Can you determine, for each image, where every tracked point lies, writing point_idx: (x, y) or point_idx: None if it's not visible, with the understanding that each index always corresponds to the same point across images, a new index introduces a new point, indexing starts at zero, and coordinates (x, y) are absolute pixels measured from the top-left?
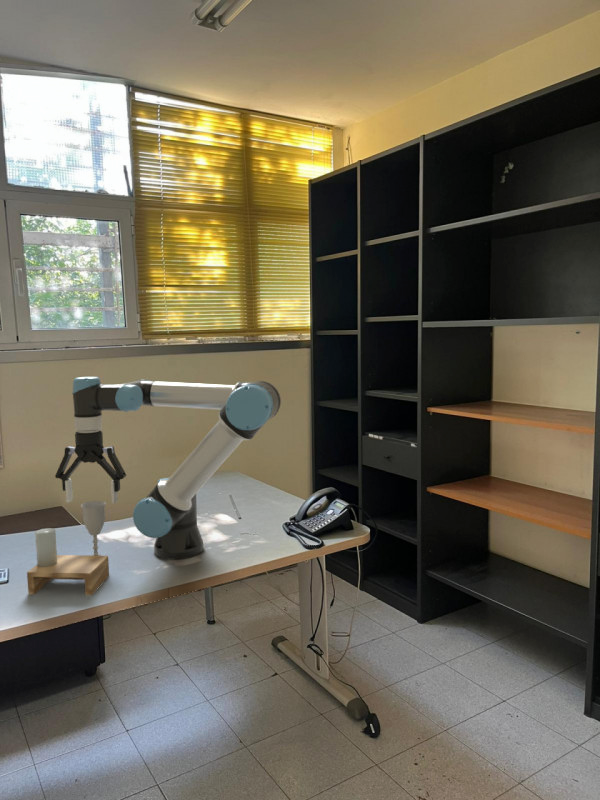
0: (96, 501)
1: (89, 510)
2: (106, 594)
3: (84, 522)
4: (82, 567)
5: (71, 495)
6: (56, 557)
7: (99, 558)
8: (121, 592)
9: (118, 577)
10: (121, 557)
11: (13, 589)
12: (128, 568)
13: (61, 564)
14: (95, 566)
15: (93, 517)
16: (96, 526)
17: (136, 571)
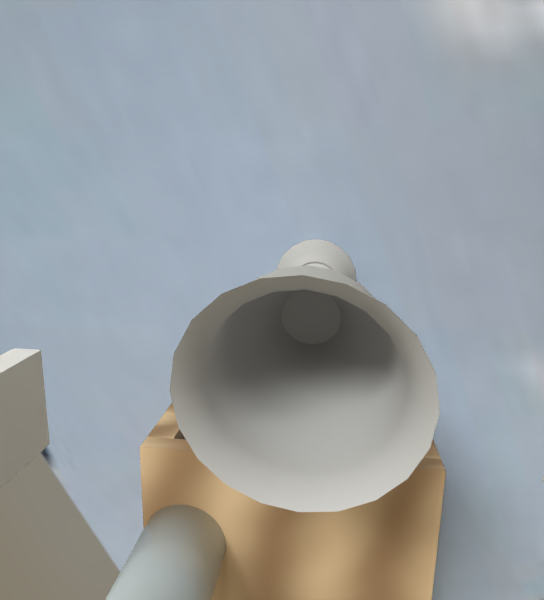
0: (288, 280)
1: (300, 479)
2: (463, 569)
3: (251, 393)
4: (366, 593)
5: (4, 401)
6: (219, 560)
7: (411, 501)
8: (518, 558)
9: (468, 430)
10: (416, 203)
11: (103, 511)
12: (489, 338)
13: (254, 556)
14: (423, 587)
15: (333, 439)
16: (345, 389)
17: (536, 372)
